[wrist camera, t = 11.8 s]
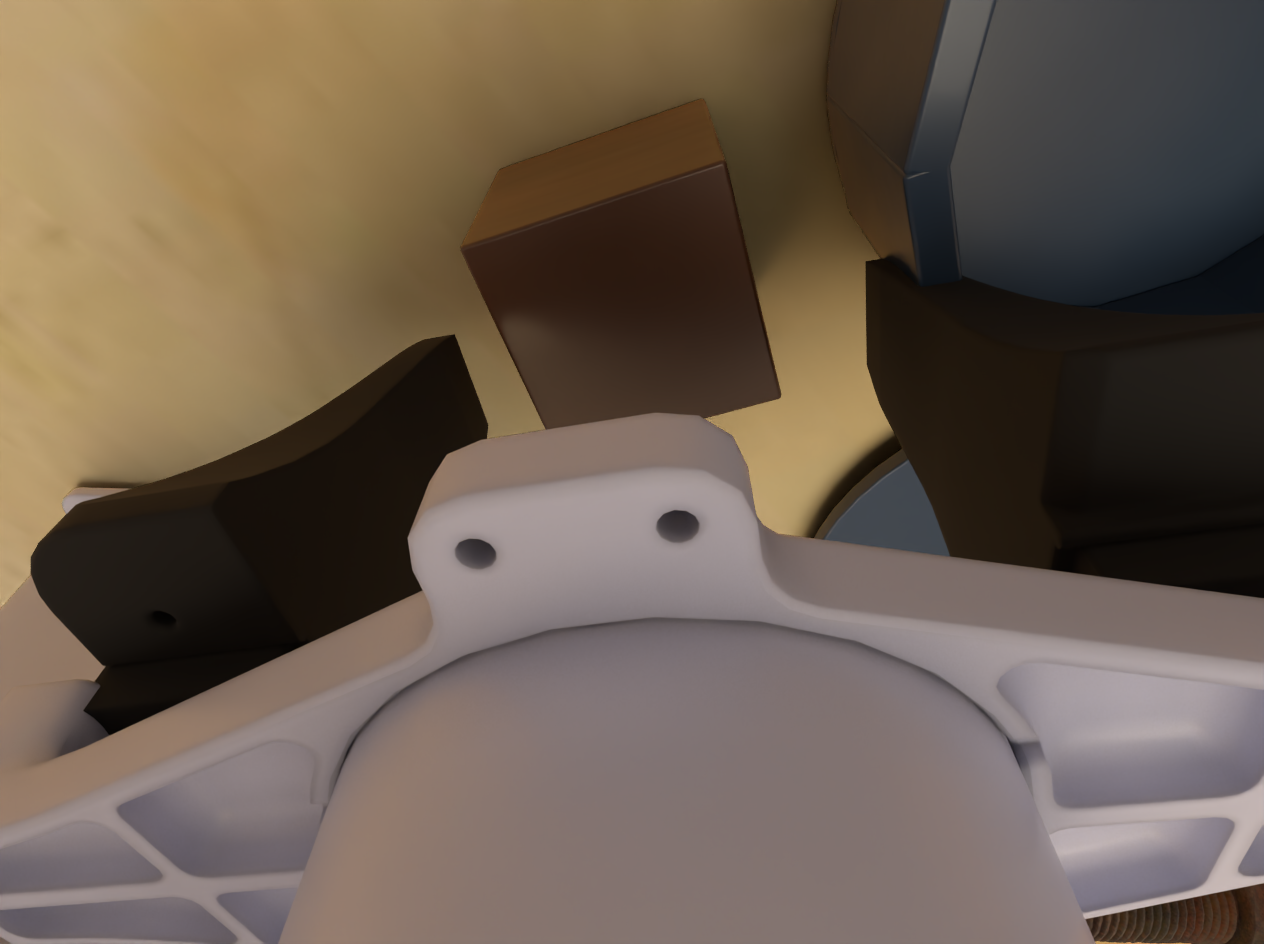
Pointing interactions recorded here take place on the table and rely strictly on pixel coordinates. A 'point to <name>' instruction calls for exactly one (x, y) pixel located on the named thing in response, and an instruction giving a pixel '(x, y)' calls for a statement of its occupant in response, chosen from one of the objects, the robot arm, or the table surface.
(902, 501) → the lid
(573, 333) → the block
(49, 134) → the table surface
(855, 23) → the pot
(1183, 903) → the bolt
